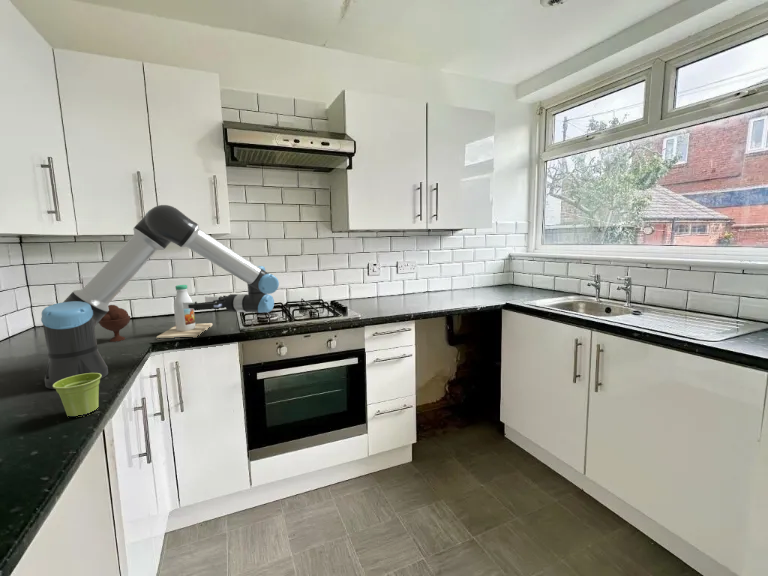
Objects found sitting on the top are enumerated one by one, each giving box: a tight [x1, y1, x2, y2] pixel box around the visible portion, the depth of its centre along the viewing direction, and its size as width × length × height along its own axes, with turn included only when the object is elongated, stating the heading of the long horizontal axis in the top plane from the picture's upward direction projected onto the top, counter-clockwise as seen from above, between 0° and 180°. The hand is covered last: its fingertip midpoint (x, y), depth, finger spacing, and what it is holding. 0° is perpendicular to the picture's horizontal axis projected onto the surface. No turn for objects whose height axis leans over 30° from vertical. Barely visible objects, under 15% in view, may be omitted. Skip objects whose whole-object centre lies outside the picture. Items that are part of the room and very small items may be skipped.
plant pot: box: [53, 373, 102, 417], centre depth 93 cm, size 9×9×9 cm
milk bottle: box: [173, 284, 196, 331], centre depth 166 cm, size 8×8×20 cm
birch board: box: [156, 322, 213, 339], centre depth 168 cm, size 20×16×1 cm
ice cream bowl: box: [98, 304, 131, 343], centre depth 157 cm, size 11×11×15 cm
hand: (195, 302), depth 165 cm, fingers open, 13 cm apart
